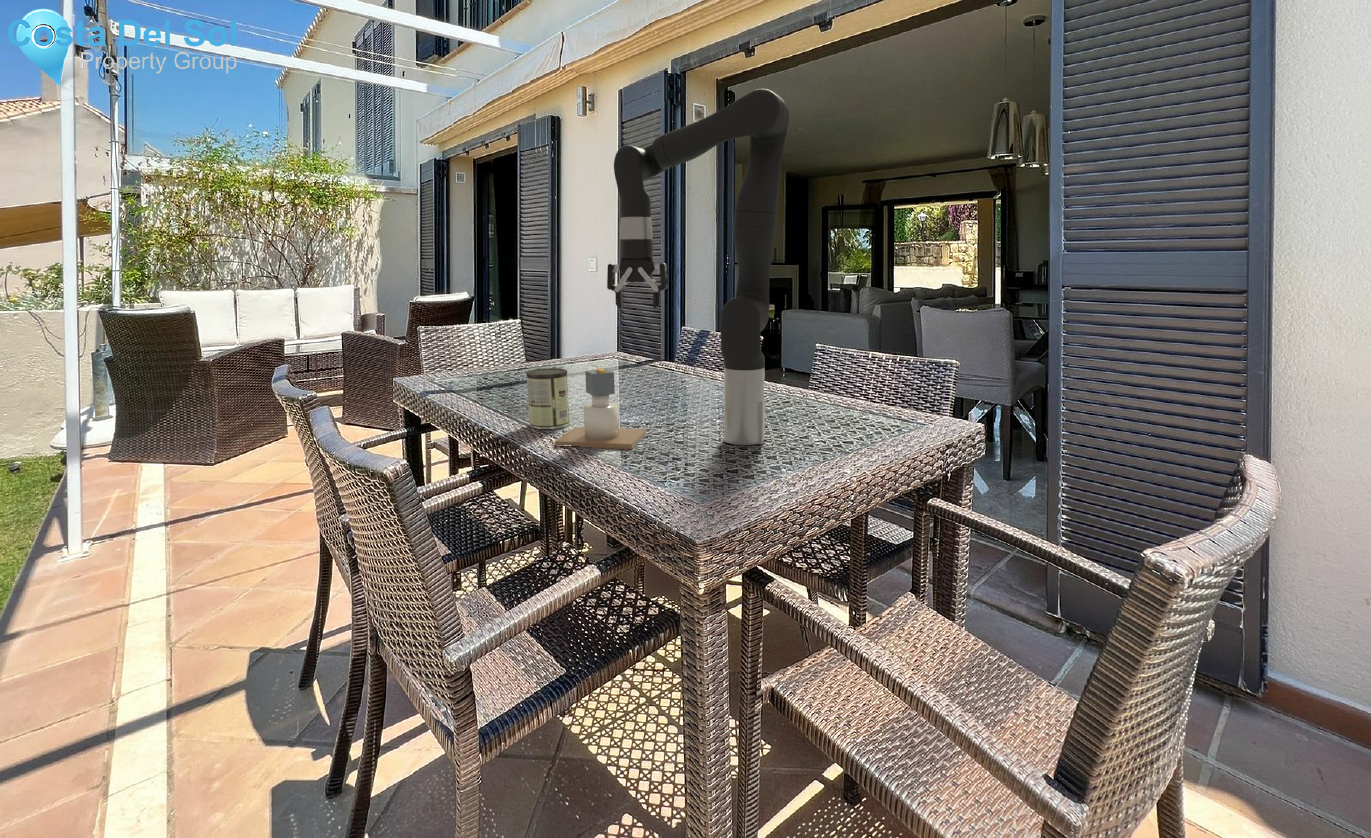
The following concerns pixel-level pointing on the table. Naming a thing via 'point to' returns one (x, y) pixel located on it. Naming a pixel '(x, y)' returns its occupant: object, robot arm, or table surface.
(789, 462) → the table surface
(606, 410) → the board with white bottle
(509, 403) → the table surface
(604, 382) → the grey cube with tab
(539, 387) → the coffee can
